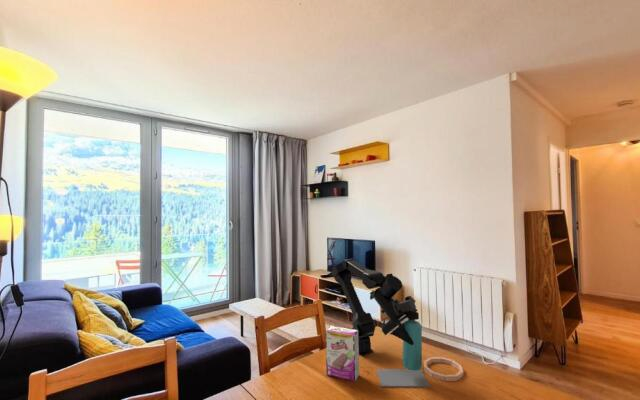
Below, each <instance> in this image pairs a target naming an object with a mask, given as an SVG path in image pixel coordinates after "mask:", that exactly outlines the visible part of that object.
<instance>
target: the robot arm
mask: <svg viewBox="0 0 640 400" xmlns="http://www.w3.org/2000/svg"><path fill="white" fill-rule="evenodd" d="M353 274H354V276H356V277H357V278H359V279H360V280H361V281H362V282H361V283H362V284H363V286H364V287H365V288H367V289H369V290H372V289H375V290H372V291H370V292H369V295H370V296H369V299H370V301H371V300H375V302H376V303H377V304H378V305H379V307H380V308H381V310H380V312H381V313H382V314H385V315H386V316H387V317H388V319H389V320H388V321H387V322H386V323H385V324H384V325H382V326H381V332H382V333H383V334H384V336H386V335H388V334H389V335H392V336H394V337H396V338H398V339H400V340H402V342H403V341H405V342H407V343H409V344H410V345H413V344H414V342H413V341H412V339H411V337H410V336H409V334H408V333H407V331H406V330H405V326H404V322H406V321H407V320H413V319H409V318H407V311H416V312H419V311H418V309H417V306H416V299H415V298H414V297H413V296H411V295H407V296H406V297H404V300H402V301H400V300H399V299H394V298H393V297H395V296H396V295H397V293H399V292H400V291H401V289H402V288H403V283H402V281H401V279H399V278H398V277H397V276H395V275H393V273H387V274H386V275H384V274H383V273H382V272H380V271H377V270H372V269H369V268H367V267H365V266H364V265H362V264H361V263H359V262H357V261H356V260H355V259H354V258H349V259H343V260H342V261H341V262H339V263H338V264H336V265H334V266H333V267H332V269H331V275H332V276H333V279H334V281H335V282H336V283H337V284H339V285H340V286H341V288H342V291H343V294H344V296H345V298H346V301H347V303H348V306H349V308H350V310H351V313H352V316H353V317H352V328H351V329H354V330H358V342H359V356H361V357H364V356H367V355H368V354H370V353H371V354H372V353H374V349H372V343H371V337H373V336H374V335H375V330H376V325H375V321H374V318H373V317H372V314H371V312H366V311H365V310H364V308H363V306H362V303H361V301H360V298H359V296H358V294H357V292H356V290H355V287H354V285H353V284H354V283H353V282H352V278H353V276H352V275H353ZM414 321H416V320H414Z"/></svg>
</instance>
